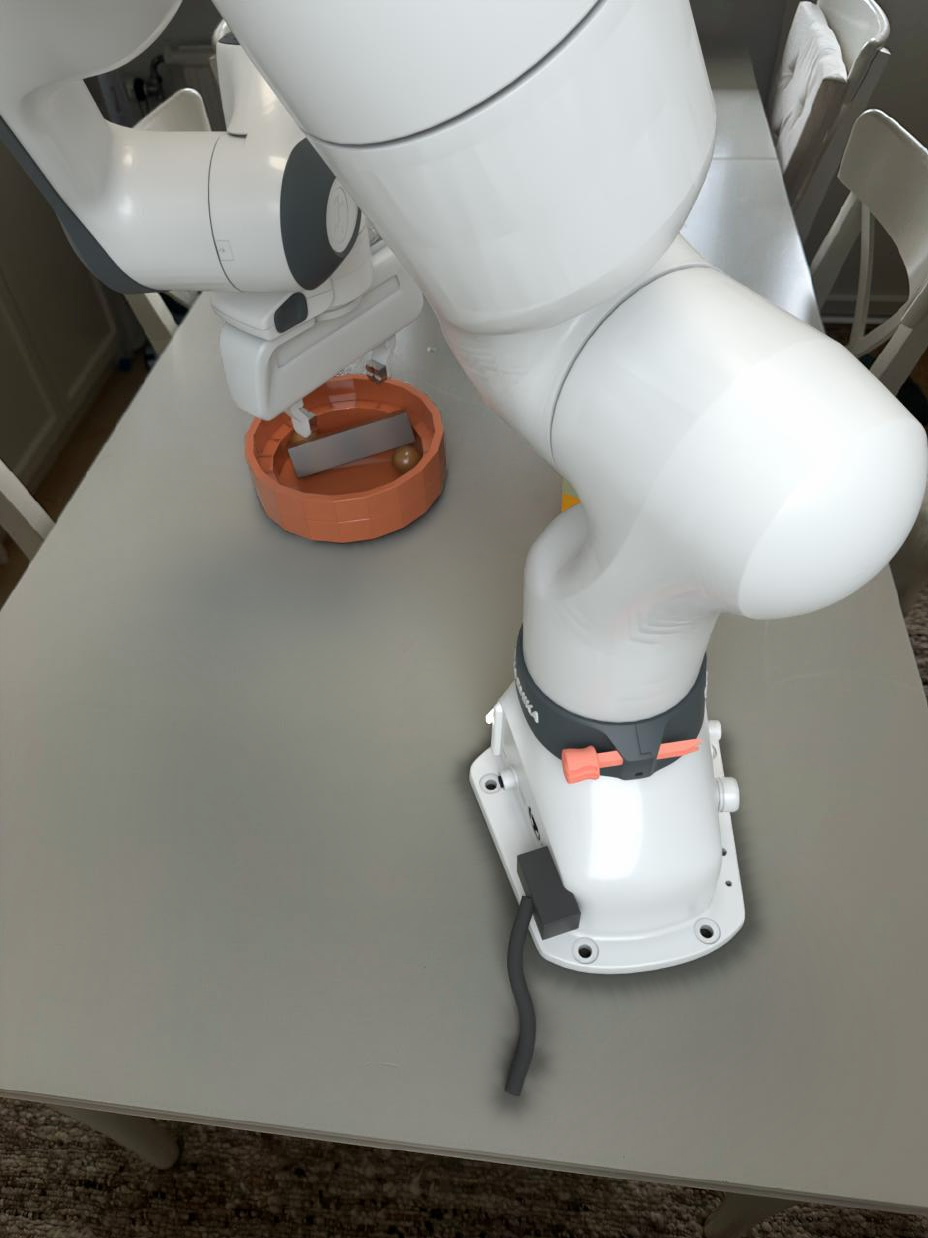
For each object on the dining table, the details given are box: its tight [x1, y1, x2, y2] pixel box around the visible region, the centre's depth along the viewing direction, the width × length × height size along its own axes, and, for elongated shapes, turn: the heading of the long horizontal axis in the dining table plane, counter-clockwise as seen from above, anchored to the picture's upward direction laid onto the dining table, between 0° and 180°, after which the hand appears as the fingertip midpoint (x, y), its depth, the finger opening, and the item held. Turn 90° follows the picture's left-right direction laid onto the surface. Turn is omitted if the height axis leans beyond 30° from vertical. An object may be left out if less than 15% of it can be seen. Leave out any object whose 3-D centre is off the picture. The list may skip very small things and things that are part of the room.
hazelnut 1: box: [291, 431, 318, 443], centre depth 86 cm, size 3×3×3 cm
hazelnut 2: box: [391, 446, 422, 476], centre depth 84 cm, size 3×3×3 cm
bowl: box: [244, 373, 448, 544], centre depth 84 cm, size 19×19×6 cm
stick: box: [287, 409, 416, 479], centre depth 84 cm, size 12×3×3 cm
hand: (344, 404), depth 79 cm, fingers open, 8 cm apart
